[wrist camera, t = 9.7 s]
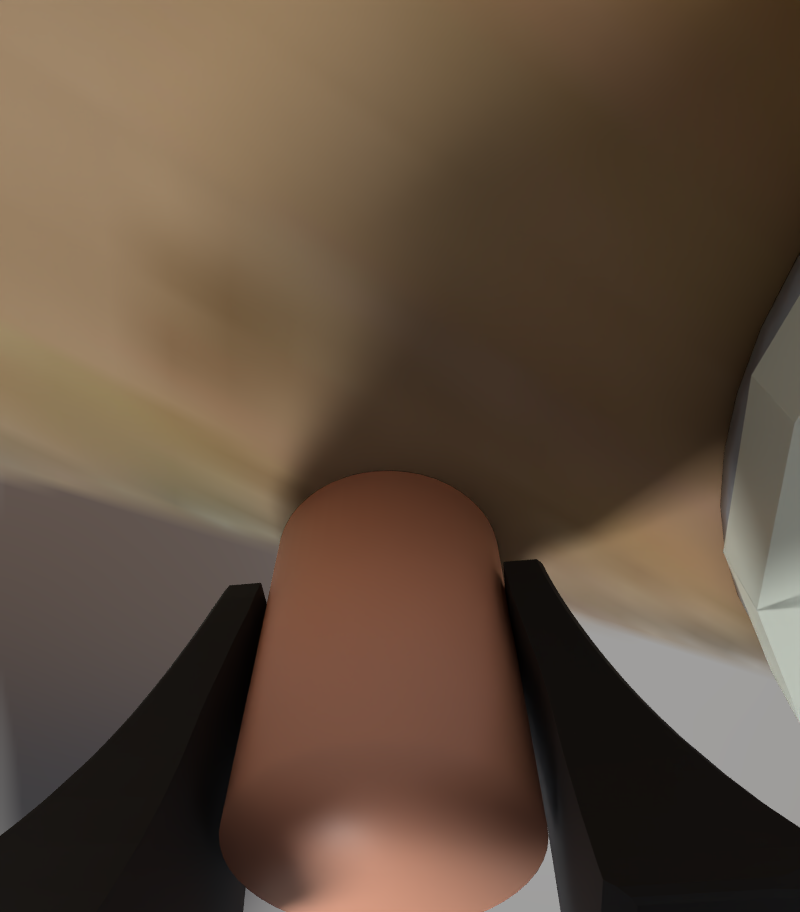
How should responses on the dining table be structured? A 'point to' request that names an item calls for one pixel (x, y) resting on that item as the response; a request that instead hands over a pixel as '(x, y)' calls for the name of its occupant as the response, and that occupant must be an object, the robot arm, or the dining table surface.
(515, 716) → the reddish brown rounded cylinder
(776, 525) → the groove tray
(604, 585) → the dining table surface
